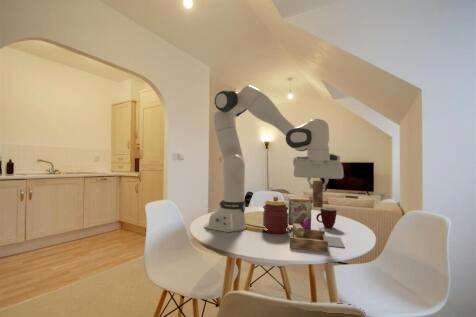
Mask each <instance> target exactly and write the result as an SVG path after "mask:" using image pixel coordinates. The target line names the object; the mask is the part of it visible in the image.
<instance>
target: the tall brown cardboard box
mask: <svg viewBox="0 0 476 317" xmlns="http://www.w3.org/2000/svg"><path fill="white" fill-rule="evenodd" d="M312 184H313V188H312V206H313V208H320V209H321V208H324V207H323V200H324V198H323V197H324V195H323V193H324V192H323V191H324V189H323V185H324V181H323V180H322V179H312Z"/></svg>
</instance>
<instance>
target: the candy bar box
mask: <svg viewBox="0 0 476 317" xmlns="http://www.w3.org/2000/svg"><path fill="white" fill-rule="evenodd" d="M312 205H313V199H311V198H308V197H307V198H306V197H303V198H302V197H288V224H289V225H293V224H300V225H301V226H302V227H303V229H310V230H312Z"/></svg>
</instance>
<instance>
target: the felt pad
mask: <svg viewBox="0 0 476 317" xmlns="http://www.w3.org/2000/svg"><path fill="white" fill-rule="evenodd" d="M325 236H326V239H327V241H328V248H329V247H331V248H340V249H345V248H346V246H345V244H344V242H343V241H342V239H341V238H342V237H340V236H329V235H325Z"/></svg>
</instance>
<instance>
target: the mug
mask: <svg viewBox="0 0 476 317" xmlns="http://www.w3.org/2000/svg"><path fill="white" fill-rule="evenodd" d="M337 212H338V211H337V209H336V208H332V207H323V208H320V213H317V215H316V218H315V219H316V221H317V222H318V223H321V224H322V225H323V227H324V228H327V229H332V228H333V227H334V225H335V223H336V219H337ZM320 217H321V220H320V219H319V218H320Z"/></svg>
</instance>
